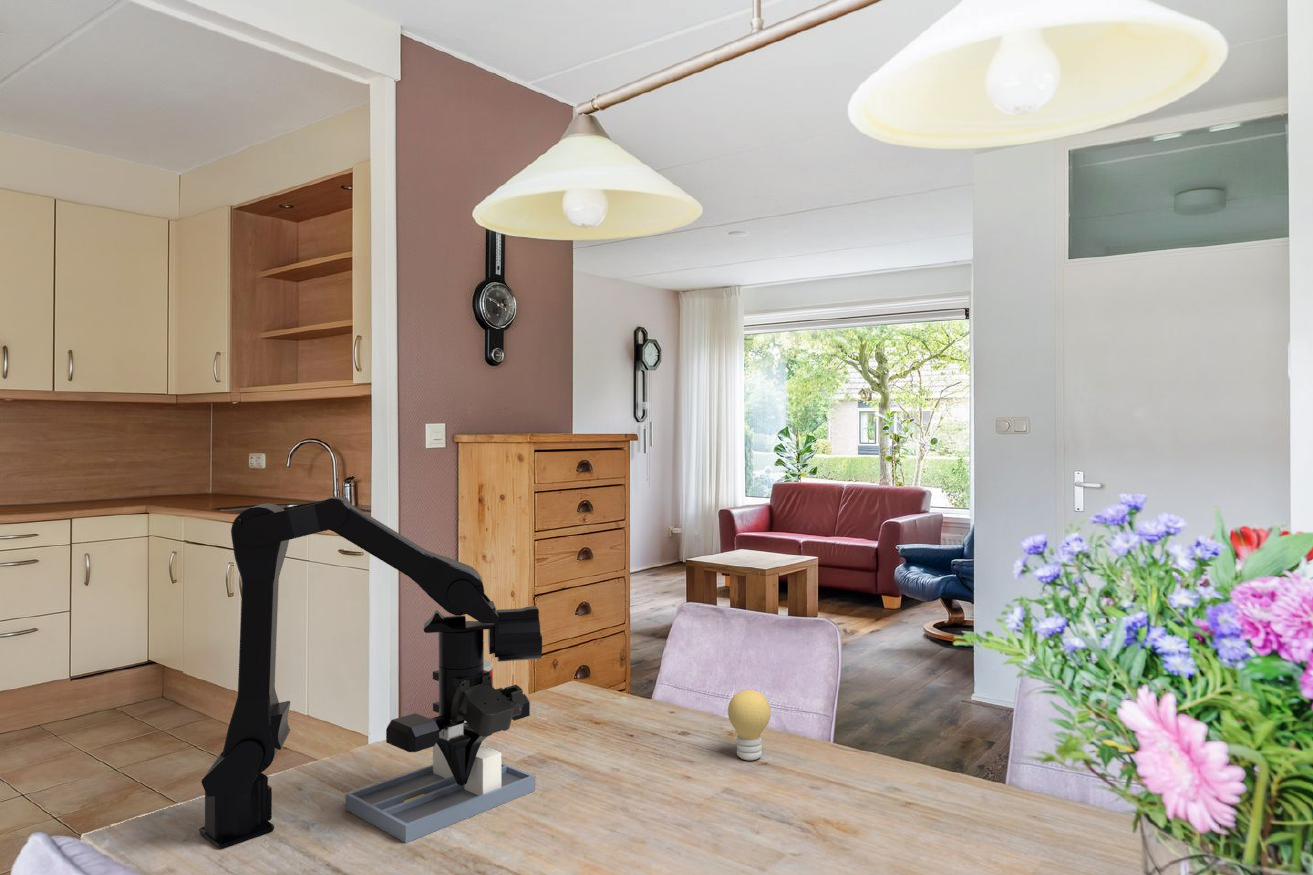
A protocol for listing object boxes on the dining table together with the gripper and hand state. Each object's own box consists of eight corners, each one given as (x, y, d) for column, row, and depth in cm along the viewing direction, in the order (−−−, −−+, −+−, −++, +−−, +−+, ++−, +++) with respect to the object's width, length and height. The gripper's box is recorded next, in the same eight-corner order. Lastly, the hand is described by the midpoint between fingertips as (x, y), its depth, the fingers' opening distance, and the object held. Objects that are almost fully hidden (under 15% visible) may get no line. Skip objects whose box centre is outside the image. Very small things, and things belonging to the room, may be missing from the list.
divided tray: (405, 842, 101) (405, 826, 101) (345, 809, 110) (345, 793, 110) (535, 790, 116) (535, 775, 116) (472, 764, 125) (472, 751, 125)
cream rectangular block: (482, 797, 110) (482, 758, 110) (464, 789, 113) (464, 751, 113) (501, 790, 113) (501, 752, 113) (482, 782, 115) (482, 745, 115)
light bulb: (725, 763, 125) (725, 695, 125) (730, 748, 131) (730, 683, 131) (768, 767, 124) (768, 698, 124) (772, 751, 130) (772, 686, 130)
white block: (449, 780, 116) (449, 743, 116) (433, 772, 119) (432, 736, 119) (468, 773, 118) (468, 737, 118) (451, 766, 121) (451, 731, 121)
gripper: (435, 691, 98) (435, 827, 98) (557, 660, 112) (557, 778, 112) (383, 674, 105) (384, 800, 105) (503, 646, 119) (504, 758, 119)
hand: (461, 784), depth 110 cm, fingers closed
